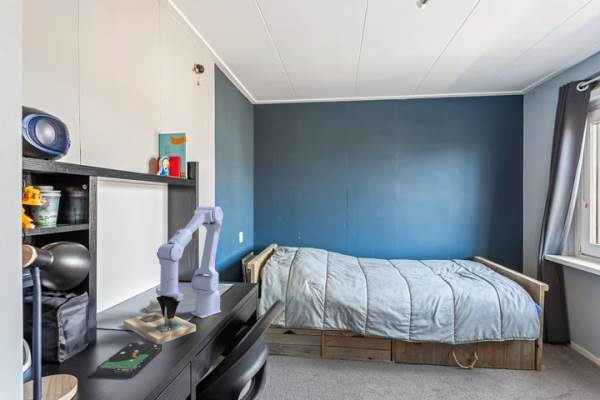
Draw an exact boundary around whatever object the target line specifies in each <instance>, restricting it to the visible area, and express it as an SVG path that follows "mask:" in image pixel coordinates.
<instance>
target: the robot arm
mask: <svg viewBox="0 0 600 400" xmlns="http://www.w3.org/2000/svg"><path fill="white" fill-rule="evenodd" d="M223 219H224V212H223V210H222V208H221V207H220V206H203V205H200V206H198V207H197V208H196V209H195V210H194V212H193V217H191V219H190V220H189V222H188V223H187V224H186V225H185V227H184V228H180V229H177V230H176V232H175V233H174V235H172V237H171V238H170V239H169V240H168V241H167V242H166V243H163V244H162V245H160V246H159V247H158V249H157V252H156V256H157V257H156V258H158V261H159V262H158V264H159V265H160V279H159V282H160V285H159V286H158V287H155V294H156V295H157V296H156V298H157V300H158V302H159V304H160V307H161V310H162V315H163V317H165V306H164V304H165V305H166V310H167V318H168V319H172V318H174V316H176V312H177V309H178V306H179V304H180V303H181V301H183V300H184V294H183V293H182V292H181V291H180V289H179V260H180V259H181V258H182V257H183V253H184V251H185V248H186V247H187V245H188V244H189V243H190V242H191V240H192V238H193V233H194V232H196V230H198V229H199V228H200V227H201V225H202V226H203V227H205V229H206V235H205V240H204V246H203V250H202V256H201V262H200V267H199V268H198V269H196V270H195V271H194V275H193V277H192V279H191V282H190V283H191V284H190V285H191V289H193V292H194V293H195V302H194V303H195V305H194V306H195V308H194V310H195V311H194V310H193V311H192V312H190V314H191V315H193V316H196V317H198V318H201V319H205V318H207V317H210V316H213V315H216V314H219V313H221V312H222V310H221V295H220V291H219V290H218V288H219V285H220V284H219V283H220V282H219V273H218V272H217V270H216V269H215V261H216V256H217V251H218V244H219V237H220V232H221V227H222V224H223Z"/></svg>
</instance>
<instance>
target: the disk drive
mask: <svg viewBox="0 0 600 400" xmlns="http://www.w3.org/2000/svg"><path fill="white" fill-rule="evenodd" d="M162 347H163V343H162V344H155V343H152V342H151V343H149V342H148V343H147V342H144V343H142V344H141V343H140V344H139V343H138V342H133V341H132V342H129V343H127V344H126V345H125V346H124V347H122V348H121V349H120V350H118V351H117V352H116V353H114V354H113V355H112V356H110V357H109V358H108V359H106V360H105V361H103V362H102V363H101V364H100V365H98V366H96V371H95V373H96V374H95V376H96V377H105V378H106V377H109V378H126V379H128V378H129V379H133V378H135V377H136V376H137V375H138V374H139V373H140V372H141V371H142V370H143V369H144V368H145V367H146V366H147V365H148V364H150V363H151V362H152V361H153V359H155V358H156V357H157V356H158V355H159V354H160V353H161V352H162V349H163V348H162Z"/></svg>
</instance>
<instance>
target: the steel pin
mask: <svg viewBox="0 0 600 400" xmlns="http://www.w3.org/2000/svg"><path fill="white" fill-rule="evenodd" d="M164 306H165V324H164V326H165V327H170V326H172V319H168V318H167V310H166V305H165V304H164Z"/></svg>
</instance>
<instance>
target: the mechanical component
mask: <svg viewBox="0 0 600 400" xmlns="http://www.w3.org/2000/svg"><path fill="white" fill-rule="evenodd" d="M160 310H161V307H160V304H159V302H158V300H157V297H154V298H152V299H150V300H149V305H148V306H147V307H146V310H145V311H146V312H147V313H148V314H149V313H152V312H156V311H160Z"/></svg>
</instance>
